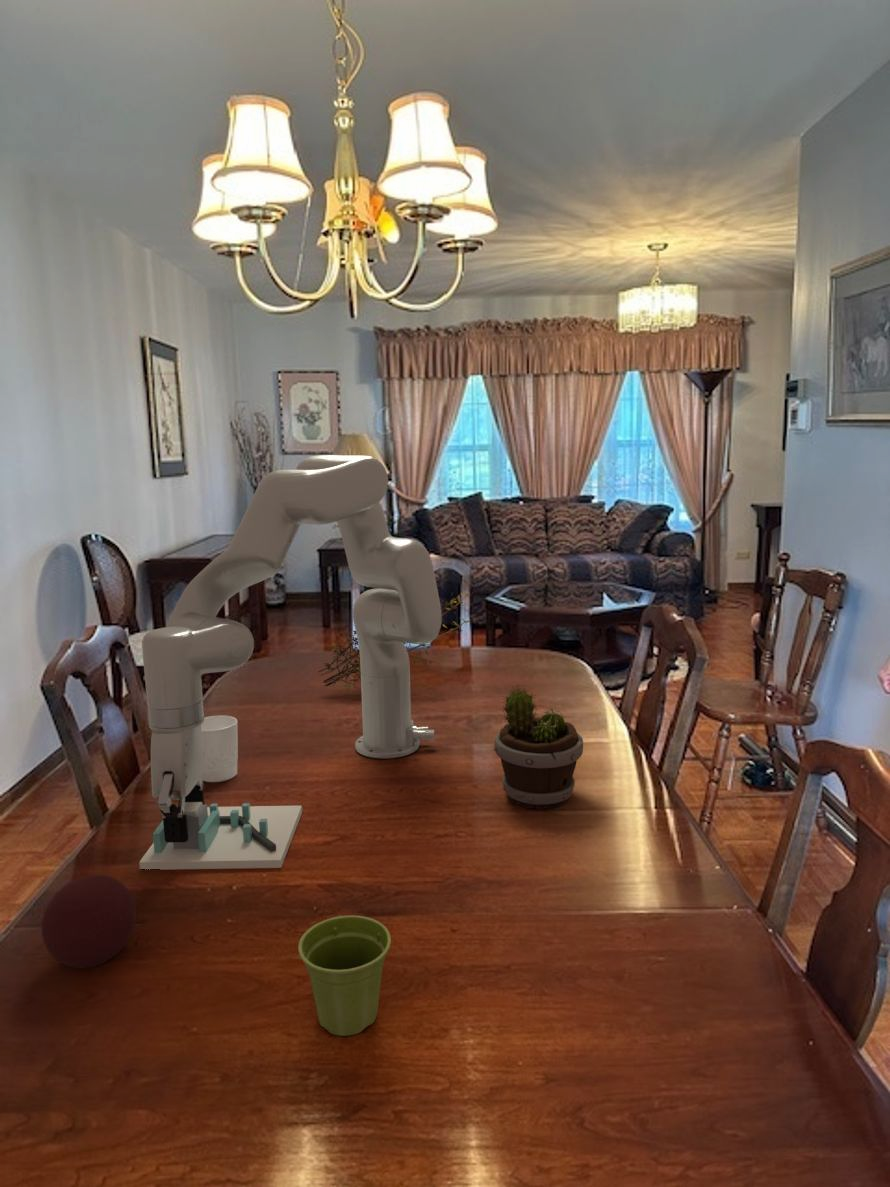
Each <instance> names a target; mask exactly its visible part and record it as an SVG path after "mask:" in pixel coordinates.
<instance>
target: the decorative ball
mask: <svg viewBox="0 0 890 1187" xmlns="http://www.w3.org/2000/svg"><path fill="white" fill-rule="evenodd" d="M136 919H137V909H136V905H135V900H134V898H133V896H132V893H131V892H130V890H129V889H128V887H127V886H126V885H125V884H124V883H122V882H121V881H120V880H118V879H117V878H114V877H111V876H108V875H105V874H89V875H87V874H86V875H84V876H80V877H77V878H75V879H72V880H71V881H69V882H67V883H66V884H64V885H63V886H62V887H61V888H60V889H59V890H57V891H56V892H55V894H54V895H53V897H52V898H51V899H50V900H49V901H48V903H47V905H46V907H45V910H44V913H43V916H42V920H41V936H42V941H43V944H44V947H45V948H46V949H47V952H48V953H49V955H51V956H52V957H53V958H54V959H55V960H56V961H57V962H59V963H61V964H63V965H65V966H68V967H72V968H80V969H83V968H91V967H96V966H99V965H101V964H103V963H106V962H107V961H109V960H110V959H112V958H113V957H115V956H116V955H117V954H118V953H120V952H121V950H122V949H124V947H125V946H126V944H127V943H128V942H129V939H130V937H131V935H132V933H133V931H134V928H135V924H136Z"/></svg>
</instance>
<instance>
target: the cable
mask: <svg viewBox="0 0 890 1187" xmlns="http://www.w3.org/2000/svg"><path fill="white" fill-rule="evenodd" d="M220 824H231V817H230V816H220ZM239 824H240V825H241V826H242V827H243V826H244V824H250V823H249V822H248V821H247V820H246V819H245V818H244V817H241V816H239ZM251 830H252V838H253V839H255V840H256V841H257V842H259V843H260V844H261V845H263V846H264V847H265V848H266V849H268V850H269V851H270V852H273V851H276V844H275V843H273V842H272V841H270V840H269V839H268V838H266V837H265V836H264V835H262V834H261V833H260V832H258V831H257V830H256V829H255V828H254V827H253V826H252V825H251Z"/></svg>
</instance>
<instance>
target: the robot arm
mask: <svg viewBox="0 0 890 1187" xmlns="http://www.w3.org/2000/svg"><path fill="white" fill-rule="evenodd" d="M388 486H389V475H388V472H387V470H386V467H385V465H384V464H383V463H382V462H381V461H380V460H379V459H377V458H376V457H373V456H371V455H361V454H359V455H356V454H355V455H354V454H353V455H351V454H349V455H344V454H343V455H342V454H321V455H311V456H309V457H306V458H304V459H302V460H300V462H298V464H297V466H296V469H278V470H273V471H270V472H269V473H267V474H266V475H265V476H263V477H262V479H261V480H260V482H259V483H258V486H257V488H256V490H255V492H254V494H253V496H252V498H251V500H250V502H249V504H248V506H247V509H246V511H245V512H244V514H243V517H242V519H241V521H240V523H239V525H238V526H237V529H236V531H235V533H234V535H233V537H232V539H231V541H230V543H229V544H228V546H227V547H226V549H225V550H224V551H223V552H222V553H220V554H219V555H218V556H217V557H215V558H214V559H213V560H212V561H210V563H208V564H207V565H206V566H205V567H204V568H203V569H202V570H201V571H200V572H198V573H197V575H196V576H194V578H192V580H190V582H189V583H188V584H187V586H186V587H185V588H184V590H183V592H182V594H181V595H180V597H179V599H178V600H177V603H176V605H175V607H174V609H173V611H172V613H171V615H170V617H169V619H168V623H167V626H166V627H159V628H155V629H153V630H150V631H148V632H146V634H145V635H144V636H143V638H142V642H141V649H142V660H143V670H144V671H143V672H144V682H145V691H146V692H145V693H146V703H147V704H146V705H147V714H148V716H147V717H148V725H149V726H148V727H149V729H150V730H151V737H150V738H151V740H150V777H151V795H152V797H153V798H154V799H158V800H157V805H158V808H159V809H160V810H159V811H160V813H161V818H162V821H163V824H164V836H165V841H166V842H168V843H171V842H187V840H188V826H187V815H184V805H185V802H202V804H205V796H204V790H203V789H204V781H203V780H202V778H201V777H202V775H203V773H204V769H205V759H204V746H203V738H202V731H201V724H202V723H203V722H204V718H205V714H204V713H205V712H204V701H203V697H204V696H203V686H202V685H203V684H202V675H205V674H211V673H220V672H228V671H233V670H236V669H238V668H240V667H241V666H243V665H244V664H246V663H247V662H248V660H249V659H250V658H251V656H252V655H253V651H254V649H255V640H254V636H253V634H252V632H251V631H250V629H249V628H248V627H247V626H245V625H244V624H242V623H240V622H238V621H235V620H232V619H227V618H221V617H217V615H218V614H219V611H221V609H222V608H223V606H224V604H226V603H227V602H228V601H229V600H230V599H231V598H232V597H233V596H235V595H236V594H237V593H239V592H240V591H242V590H245V589H246V588H248V587H251V586H253V585H256V584H259V583H260V582H263V581H265V580H268V579H269V578H272V577H273V576H274V575H276V574H277V573H278V572H279V571H280V570H281V568H282V566H283V563H284V561H285V558H286V556H287V554H288V552H289V549H290V547H291V545H292V543H293V541H294V539H295V537H296V535H297V533H298V530H299V528H300V527H301V525H303V524H304V525H329V524H332V523H337V525H338V528H339V532H340V536H341V539H342V544H343V547H344V553H345V557H346V561H347V564H348V568H349V572H350V574H351V577H352V579H353V581H355V583H356V584H358V585H360V586H363V587H368V588H372V589H368V590H364V591H363V592H362V593H361V594H360V595H359V596H358V597H357V599H356V600H355V602H354V605H353V609H352V619H353V624H354V628H355V630H354V631H356V634H355V635H356V638H357V639H358V644H359V645H358V646H359V647H358V650H359V651H360V652H359V653H360V654H359V658H360V659H359V660H360V661H359V662H360V665H359V666H360V667H361V669H360V670H361V671H360V672H361V676H360V677H361V678H360V679H361V680H360V681H361V682H360V686H361V687H360V689H361V716H362V720H361V721H362V735H361V736H360V737H359V738H357V739H356V741H355V746H354V747H355V751H356V752H357V753H359V754H360V755H361V756H365V757H368V758H372V759H395V758H401V757H405V756H408V755H411V754H413V753H414V752H416V751H417V750H418V749H419V747H420V740H426V741H428V740H429V741H433V740H435V730H434V729H429V726H420V727H419V726H418V727H417V725H414V719H412V714H411V713H412V711H411V710H412V708H411V707H412V706H411V704H412V703H411V702H412V701H411V700H412V699H411V683H410V681H411V666H410V665H411V664H410V655H409V653H408V652H407V651H408V650H407V649H408V648H407V649H406V644H407V643H408V644H410V645H419V644H420V645H421V644H431V643H432V641H433V642H434V640H435V638H436V637H438V636H439V633H440V631H441V628H442V621H443V620H442V616H443V615H442V614H443V613H442V611H441V610H442V607H441V606H442V605H441V601H440V600H441V599H440V596H439V590H438V584H437V580H436V574H435V570H434V565H433V561H432V557H431V555H430V553H429V551H428V550H427V548H426V547H425V546H424V545H423V544H422V543H421V542H419V541H418V540H415V539H412V538H405V537H404V538H403V537H394V536H392V535H391V533H390V531H389V528H388V524H387V520H386V517H385V513H384V508H383V507H382V505H381V503H380V502H381V501H382V499H383V498H384V496H385V494H386V492H387V489H388ZM436 639H437V638H436ZM403 642H404V643H406V644H404V643H403ZM175 791H176V792H177V791H178V792H179V794H178V793H176V794H175V793H174V794H173V792H175ZM172 800H178V802H177V805H176V804H175V803H173V801H172Z"/></svg>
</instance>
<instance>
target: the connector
mask: <svg viewBox="0 0 890 1187" xmlns="http://www.w3.org/2000/svg"><path fill="white" fill-rule="evenodd" d="M207 807H208V804H205V803H204V804H202V802H185V805H184V815H187V826H188V840H187V842H173V845H174V849H199V841H198V832H199V831H200V829H201V827H202V826H203V824H204V823H205V821H206V819H207V818H208V810H207Z"/></svg>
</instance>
